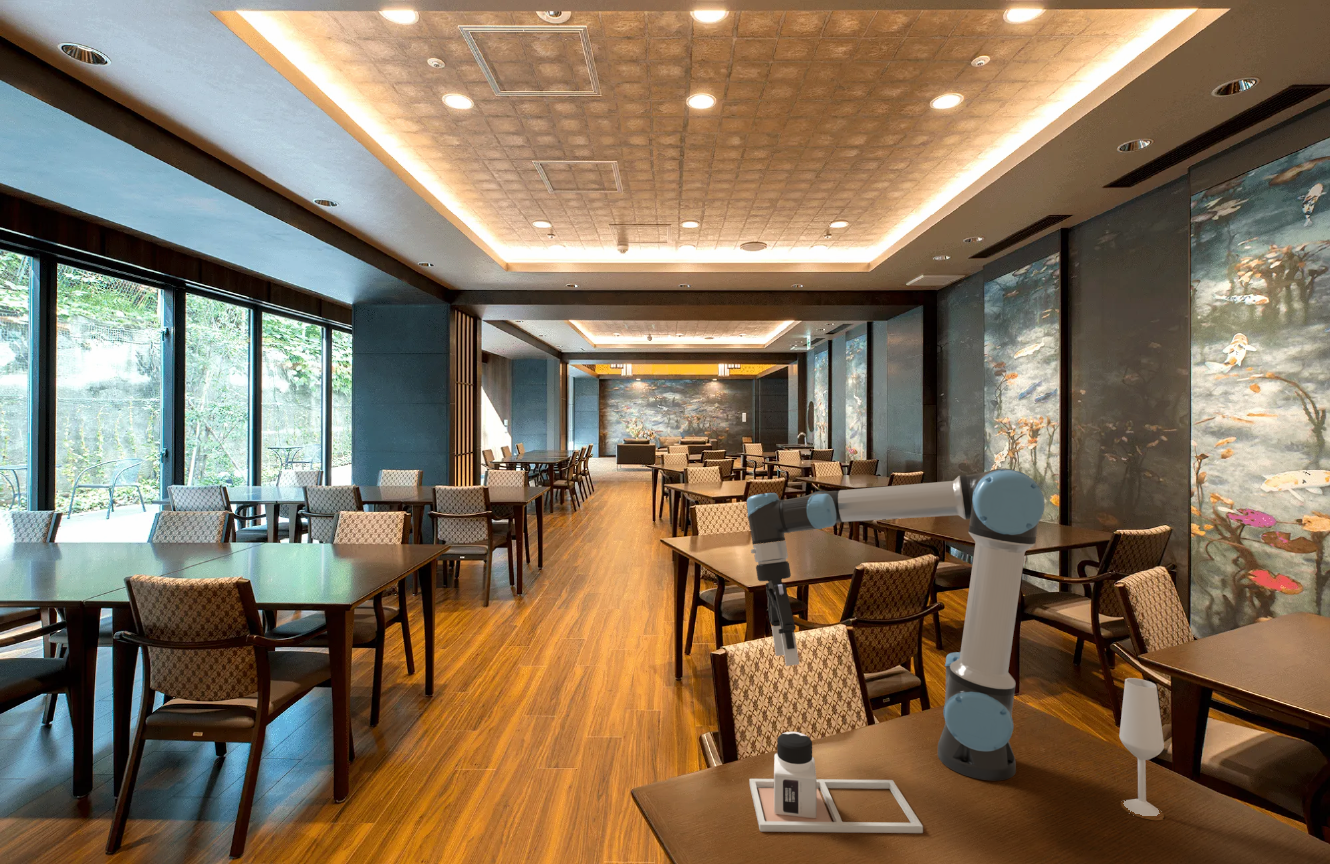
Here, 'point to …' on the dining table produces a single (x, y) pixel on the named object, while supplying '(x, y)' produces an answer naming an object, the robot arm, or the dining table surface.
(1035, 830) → the dining table surface
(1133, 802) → the champagne flute
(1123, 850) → the dining table surface
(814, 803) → the container
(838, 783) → the bay frame
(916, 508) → the robot arm
